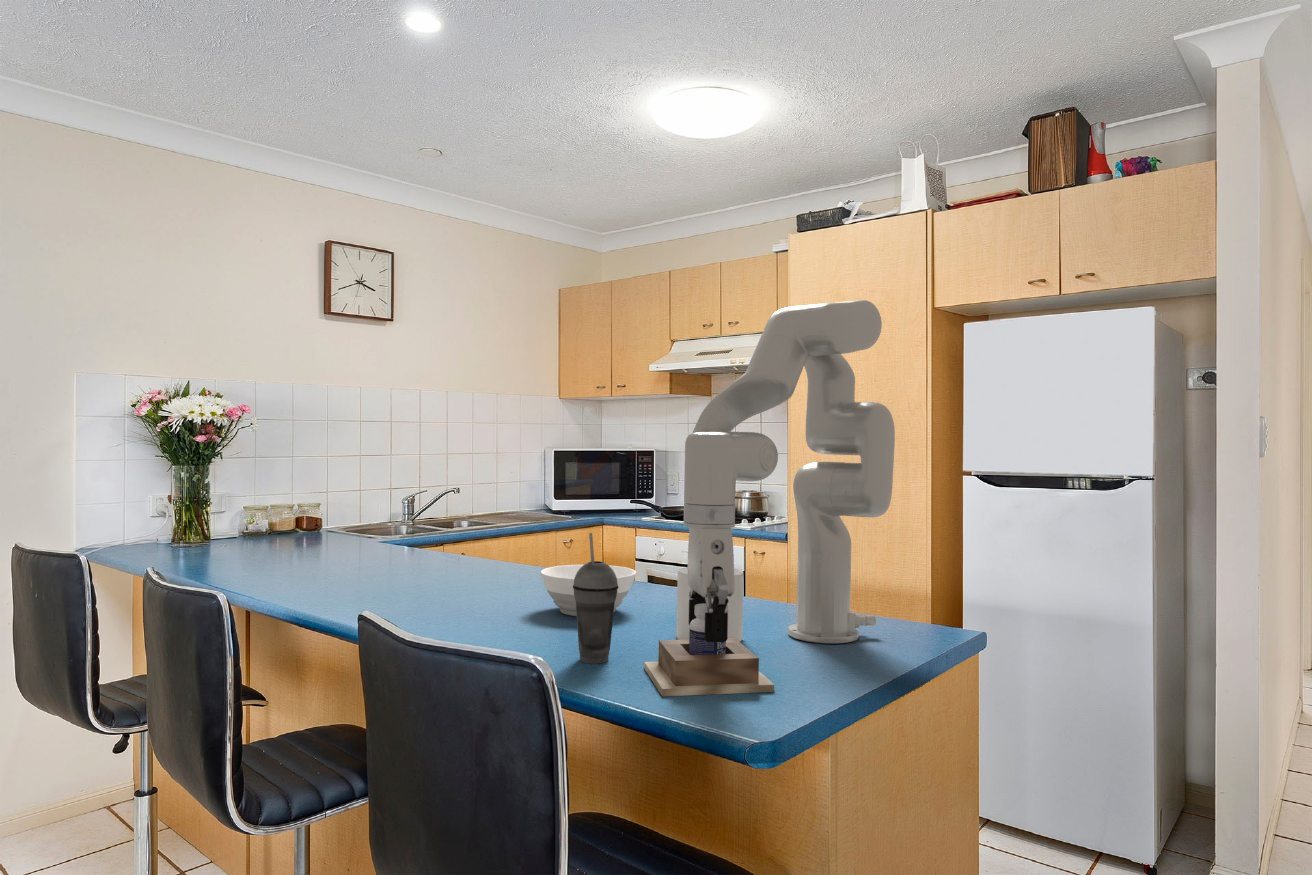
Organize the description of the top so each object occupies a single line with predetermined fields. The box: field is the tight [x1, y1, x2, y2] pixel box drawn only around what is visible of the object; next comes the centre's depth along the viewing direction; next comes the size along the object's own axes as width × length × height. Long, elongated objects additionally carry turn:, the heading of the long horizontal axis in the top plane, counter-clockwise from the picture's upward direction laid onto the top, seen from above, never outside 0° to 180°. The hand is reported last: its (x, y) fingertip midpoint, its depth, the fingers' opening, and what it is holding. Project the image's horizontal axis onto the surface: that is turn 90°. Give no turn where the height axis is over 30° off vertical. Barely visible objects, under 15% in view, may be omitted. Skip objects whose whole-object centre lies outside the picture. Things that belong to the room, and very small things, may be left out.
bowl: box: [540, 563, 637, 617], centre depth 167 cm, size 20×20×8 cm
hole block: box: [643, 638, 775, 697], centre depth 120 cm, size 16×14×4 cm
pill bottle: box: [689, 604, 726, 655], centre depth 121 cm, size 5×5×10 cm
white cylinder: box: [676, 566, 744, 643], centre depth 146 cm, size 12×12×12 cm
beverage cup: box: [573, 532, 619, 664], centre depth 130 cm, size 7×7×20 cm
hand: (707, 632), depth 120 cm, fingers open, 9 cm apart
